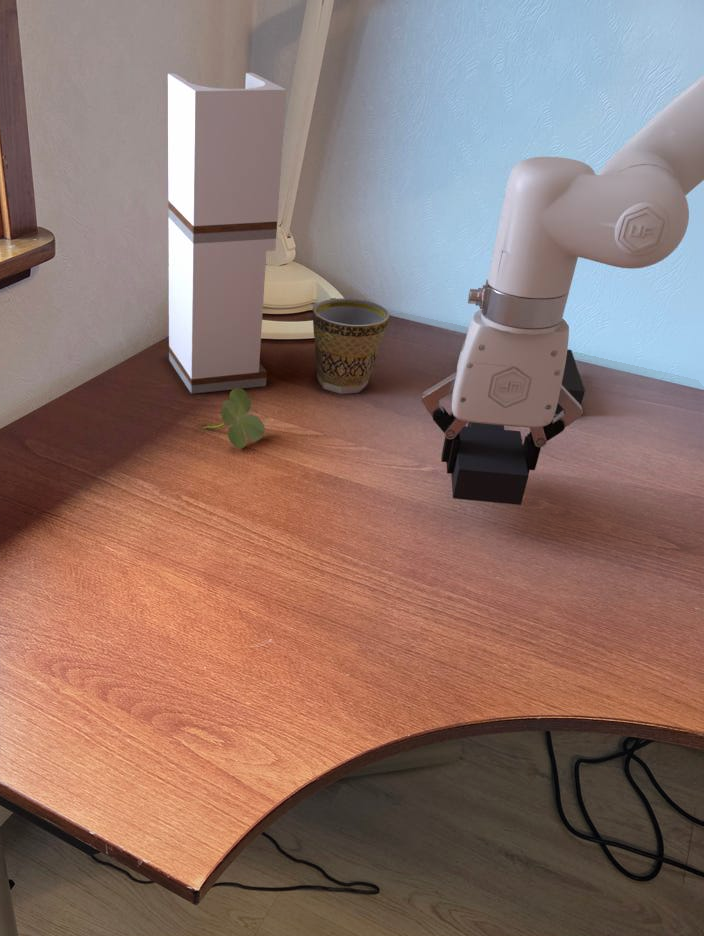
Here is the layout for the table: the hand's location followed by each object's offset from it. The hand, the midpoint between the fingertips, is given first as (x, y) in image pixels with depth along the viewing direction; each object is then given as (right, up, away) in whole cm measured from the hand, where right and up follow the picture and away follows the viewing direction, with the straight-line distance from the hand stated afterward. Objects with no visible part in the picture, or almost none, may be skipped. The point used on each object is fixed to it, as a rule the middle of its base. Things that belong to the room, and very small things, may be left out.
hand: (486, 469), depth 97 cm
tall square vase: (-29, +19, +29) cm, 45 cm away
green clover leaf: (-27, +7, +15) cm, 31 cm away
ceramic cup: (-12, +18, +29) cm, 36 cm away
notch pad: (+13, +17, +28) cm, 35 cm away
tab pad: (0, 0, +2) cm, 2 cm away
